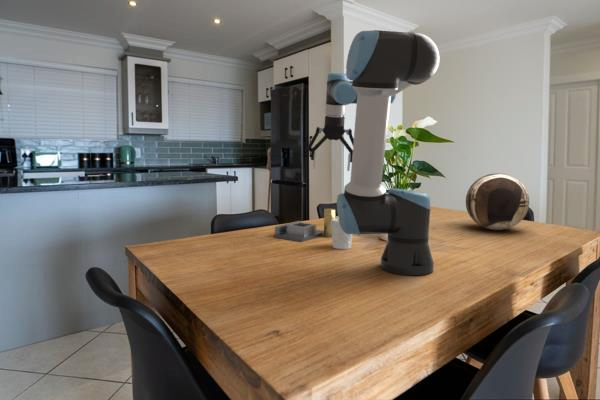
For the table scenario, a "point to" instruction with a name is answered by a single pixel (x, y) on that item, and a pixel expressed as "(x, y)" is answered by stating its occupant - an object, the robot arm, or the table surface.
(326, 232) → the bushing
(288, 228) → the jig
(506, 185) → the sphere
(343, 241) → the white cup
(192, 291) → the table surface
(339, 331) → the table surface
